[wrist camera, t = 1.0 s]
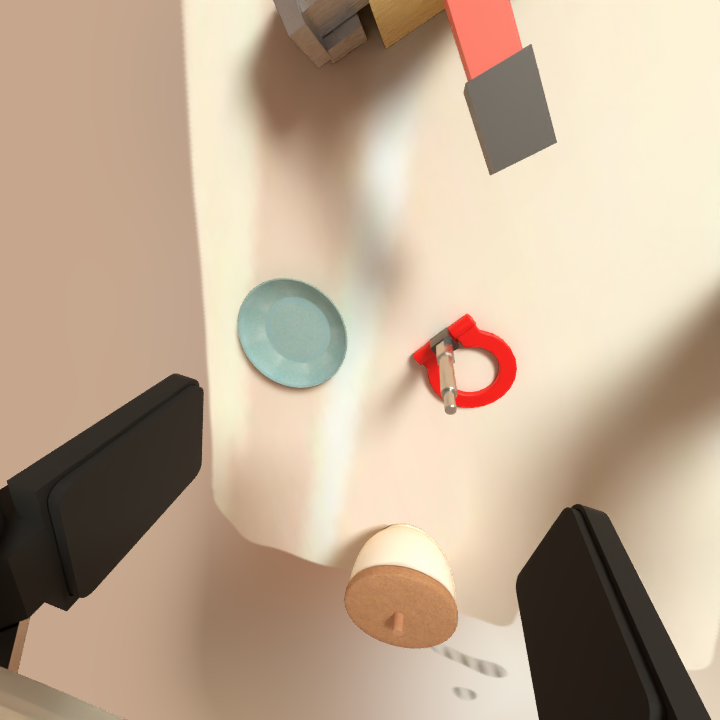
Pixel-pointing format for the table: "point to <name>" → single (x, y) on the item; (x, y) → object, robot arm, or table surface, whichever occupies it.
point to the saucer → (292, 332)
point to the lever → (500, 82)
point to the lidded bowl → (403, 589)
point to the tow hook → (441, 362)
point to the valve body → (349, 23)
